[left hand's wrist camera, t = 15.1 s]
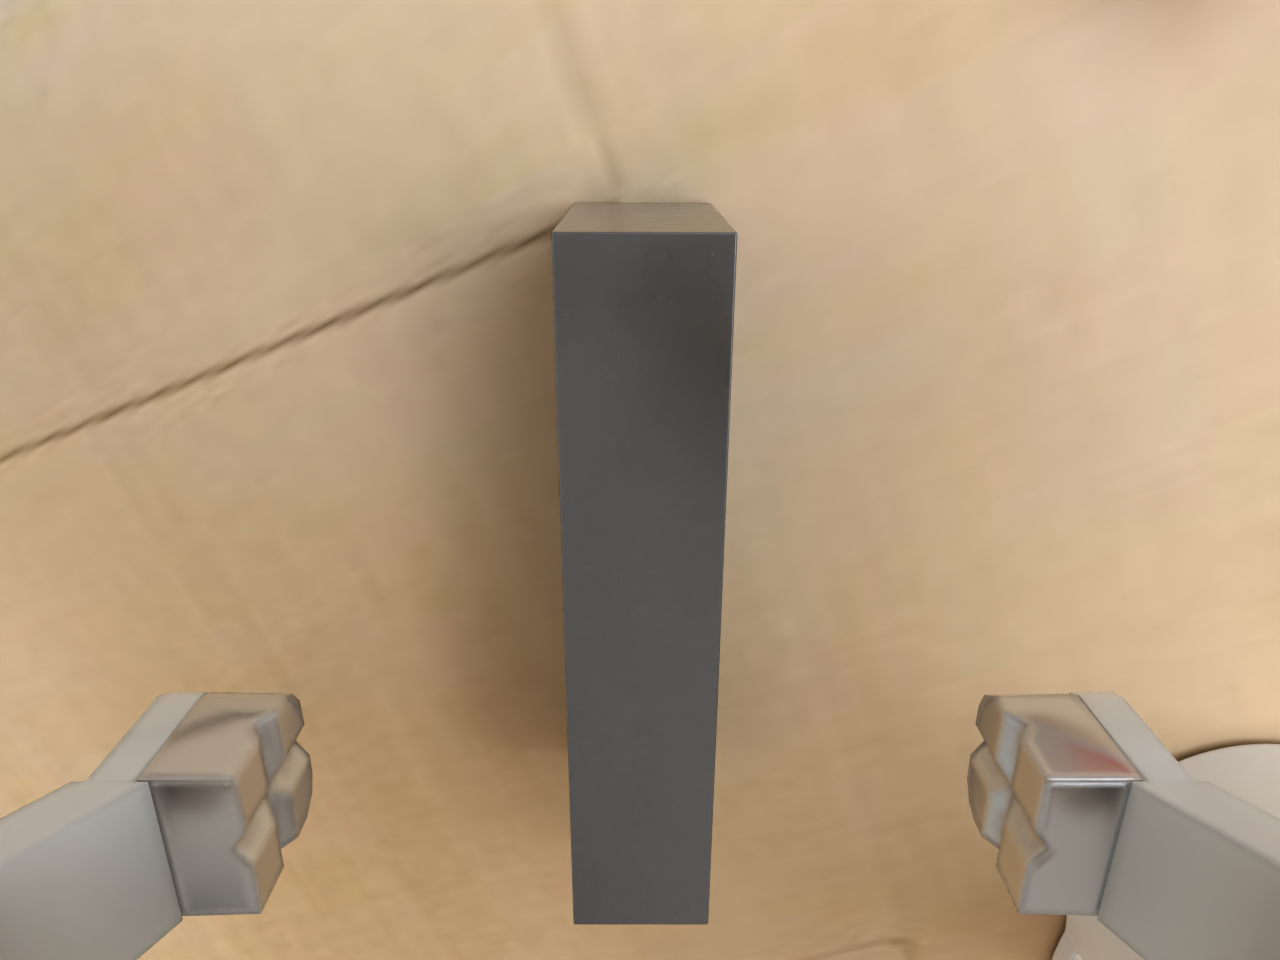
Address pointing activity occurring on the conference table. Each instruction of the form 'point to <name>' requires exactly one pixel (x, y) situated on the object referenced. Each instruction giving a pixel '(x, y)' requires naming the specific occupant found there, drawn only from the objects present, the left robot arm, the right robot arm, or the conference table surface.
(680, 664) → the bar
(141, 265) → the conference table surface
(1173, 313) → the conference table surface
